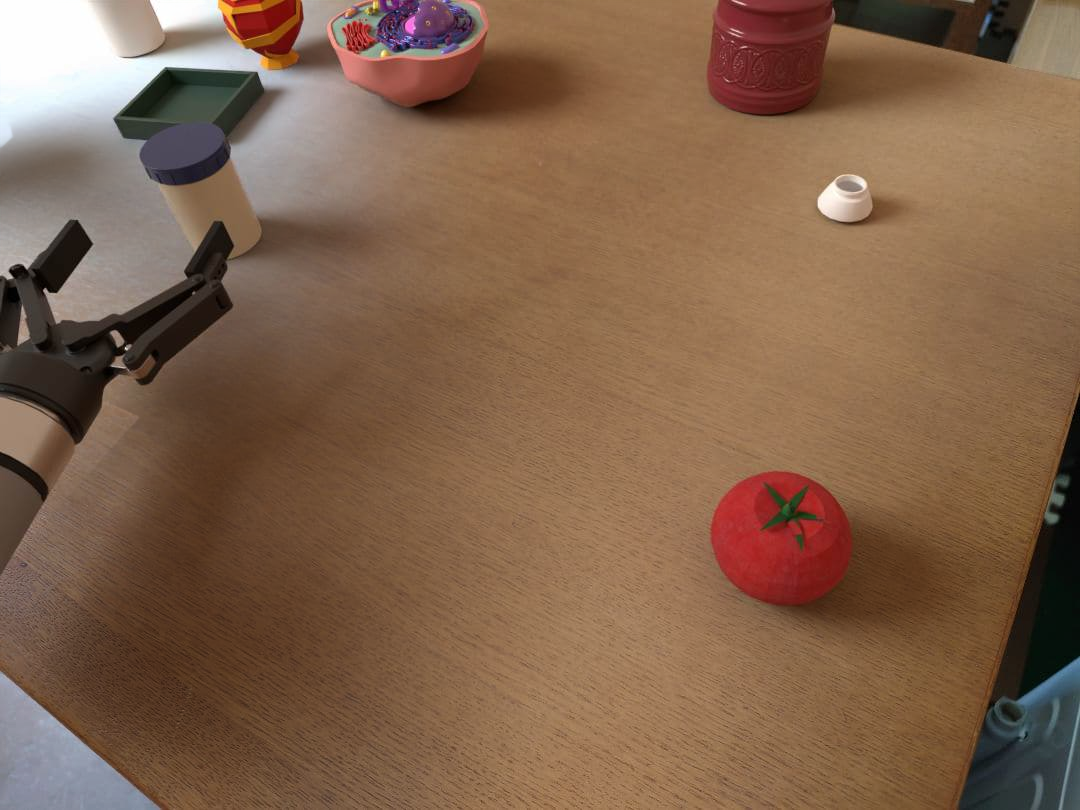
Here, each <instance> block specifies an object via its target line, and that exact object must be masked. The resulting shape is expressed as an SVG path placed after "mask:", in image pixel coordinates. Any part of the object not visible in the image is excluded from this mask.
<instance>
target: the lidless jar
mask: <svg viewBox="0 0 1080 810" xmlns="http://www.w3.org/2000/svg"><path fill="white" fill-rule="evenodd" d="M817 208H818V210H819V211H820V213H821V214H822V215H824V216H825V217H826V218H828V219H831V220H834V221H837V222H844V223H853V222H858V221H862V220H864V219H865V218H867V217H869V216H870V214H871V213H872V212H873V208H874V207H873V200H872V195H871V193H870V189H869V188H868V183H867V181H866V180H865V179H864V178H863V177H862V176H860V175H857V174H850V173H849V174H841V175H839V176H837V177H835V179H834V180H833V181H832V182H831V183H830V184H828V186H827V187H826V188H825V189H824V190H823V191H822V192H821V193H820V195H819V196H818V197H817Z"/></svg>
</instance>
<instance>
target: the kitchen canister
mask: <svg viewBox="0 0 1080 810" xmlns="http://www.w3.org/2000/svg"><path fill="white" fill-rule="evenodd" d="M834 1H835V0H718V2H717V3H716V5H715V6H714V7H713V11H712V20H713V22H712V32H711V33H712V34H711V43H710V53H709V60H708V63H707V67H706V79H707V88H708V91H709V94H710V95H711V96H712V98H713V99H714V100H716V101H717V102H718V103H719V104H721V105H723V106H725V107H726V108H729V109H730V110H734V111H737V112H742V113H747V114H751V115H776V114H783V113H788V112H791V111H795V110H797V109H800V108H802V107H804V106H805V105H807V104H808V103H810V102H811V101H812V100H813V99H814V98H815V96H816V95H817V91H818V89H819V87H820V85H821V83H822V79H823V75H824V71H825V70H824V65H825V64H824V63H825V59H826V54H827V49H828V45H829V41H830V40H829V39H830V35H831V31H832V27H833V25H834V23H835V20H836V12H835V8H834Z"/></svg>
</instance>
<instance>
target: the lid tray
mask: <svg viewBox="0 0 1080 810" xmlns="http://www.w3.org/2000/svg"><path fill="white" fill-rule="evenodd" d="M264 92H265V89H264V86H263V83H262V80H261V78H260V74H259V72H258V71H251V70H234V69H233V70H231V69H213V68H195V67H194V68H193V67H192V68H191V67H174V66H165V67H163V69H162V70H161V71H159V72H158V73H157V74H156V75H155V77H154V78H152V79H151V80H150V82H149V83H147V84H146V85H145V86H144V87H143V88H142V89H141V90H140V91H139V92H138V93H137V94H136V95H135V96H134V97H133V98H131V100H130V101H129V102H128V103H127V104H126V105H125V106H124V107H123V108H122V109H121V110H120V111H119V112H118V113H116V115H115V116H113V117H112V120H113V122H114V124H115V125H116V127H117V130H118V131H119V133H120V134H121V136H122V138H123V139H134V140H135V139H136V140H146V141H148V140H149V139H150V138H151V137H152V136H154V135H156V134H157V133H159V132H161V131H163V130H165V129H167V128H170V127H173V126H176V125H179V124H184V123H190V122H206V123H211V124H214V125H216V126H218V127H219V128H221V130H222V131H223V133H224V135H225V137H226V138H227V136H229V134H230V133H231V132H232V131H233V129H234V128H235V127H236V126H237V125H238V123H240V121H241V120H242V119H243V117H244V116H245V115H246V114H247V113H248V111H249V110H250V109H251V108H252V107H253V106H254V105H255V103H256V102H257V101H258V99H259V98H260V97H261V96H262V95H263V94H264Z"/></svg>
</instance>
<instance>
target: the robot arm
mask: <svg viewBox="0 0 1080 810" xmlns="http://www.w3.org/2000/svg"><path fill="white" fill-rule="evenodd" d="M93 246H94V243H93V241H92V240H91V238H90V237H89V235H88V233H87V232H86V230H85V229H84V227H83V226H82V224H81V222H80V221H79V220H78V219H69V220H68V221H67V222H66V224H64V226H63V227H62V228H61V230H60V231H59V232H58V233H57V235H56V236H55V237H54V239H53V240H51V242H50V244H49V245H48V247H46V248H45V250H43V251H41V252H40V253H39V254H38V255H37V256H36V258H34V260H33V261H32V263H31V264H30V265H29V267H27V268H26V267H25V265H24V264H23V263H16V264H13V265H12V266H10V267H9V268H8V270H7V271H8V273H9V274H10V276H11V277H12V278H7V277H6V276H5V275H0V577H2V574H3V573H4V571H5V570H6V567H7V566H8V564H9V562H10V561H11V559H12V557H13V555H14V554H15V552H16V551H17V549H18V548H19V546H20V543H21V542H22V540H23V539H24V537H25V535H26V533H27V532H28V530H29V529H30V527H31V525H32V523H33V522H34V520H35V518H36V517H37V515H38V512H39V511H40V510H41V508H42V507H43V505H44V503H45V502H46V501H47V498H48V496H49V495H50V493H51V492H52V490H53V489H54V486H55V485H56V483H57V482H58V480H59V479H60V477H61V475H62V473H63V472H64V470H65V469H66V467H67V465H68V464H69V463H70V461H71V459H72V457H73V455H74V454H75V453H76V446H77V445H80V443H82V441H83V439H85V436H86V435H87V433H88V432H89V430H90V428H91V426H92V425H93V423H94V422H95V420H96V418H97V417H98V415H99V413H100V412H101V410H102V406H103V397H104V392H105V388H106V386H107V385H108V384H109V383H110V382H111V381H112V380H114V379H116V378H117V377H118V376H124V377H125V376H126V377H131V378H133V379H134V380H135V382H136V383H137V384H138V385H139V386H147V385H149V384H151V383H152V382H153V381H154V379H155V378H156V377H157V375H158V374H159V372H160V371H161V370H162V368H163V367H164V365H165V364H167V363H168V362H169V361H170V360H172V359H173V358H174V357H175V356H176V355H177V354H178V353H180V352H181V351H182V350H183V349H185V348H186V347H187V346H188V345H190V344H191V343H192V342H193V341H194V340H196V339H197V338H198V337H199V336H200V335H202V334H203V333H204V332H205V331H207V330H208V329H209V328H210V327H212V326H213V325H214V324H215V323H216V322H218V321H219V320H220V319H221V318H222V317H224V316H225V315H227V313H229V312H230V311H231V310H232V309H233V308H234V303H233V301H232V299H231V296H230V295H229V293H228V292H227V290H226V288H225V286H224V284H223V279H224V277H225V276H226V273H227V272H228V270H229V267H228V265H229V264H228V263H227V260H228V259H227V258H228V257H229V255H230V253H231V251H232V250H233V248H234V244H233V242H232V240H231V238H230V236H229V234H228V232H227V229H226V227H225V225H224V223H223V221H214V222H213V224H212V225H211V227H210V229H209V230H208V232H207V234H206V235H205V237H204V239H203V240H202V242H201V244H200V245H199V247H198V249H197V250H196V252H195V253H193V255H192V257H191V259H190V260H189V262H188V263H187V265H186V266H185V269H184V270H183V273H184V275H185V276H186V279H183V280H181V281H180V282H178V283H176V284H175V285H173V286H171V287H169V288H167V289H165V290H164V291H162V292H160V293H158V294H157V295H154V296H152V297H151V298H150V299H148V300H145V301H144V302H142V303H140V304H138V305H137V306H135V307H133V308H131V309H129V310H127V311H126V312H124V313H122V314H119V313H111V314H108V315H107V316H105V317H103V318H101V319H99V320H86V321H75V320H72V319H61V321H60V322H58V323H57V322H56V319H55V316H54V313H53V310H52V308H51V305H50V302H49V299H48V297H47V294H46V292H45V291H44V290H46V291H47V293H48V294H58V293H59V292H60V291H61V289H62V288H63V286H64V285H65V283H66V282H67V281H68V280H69V278H70V277H71V275H72V274H73V273H74V271H75V270H76V268H77V267H78V266H79V264H80V263H81V262H82V261H83V259H84V258H85V256H86V255H87V254H88V252H89V251H90V249H92V247H93ZM22 309H23V310H24V311H23V312H24V314H25V318H24V321H25V325H26V327H27V330H28V333H29V334H28V337H29V338H28V339H26V340H24V341H23V342H21V343H20V344H19V343H18V342H19V333H20V326H21V318H22ZM113 331H117V333H118V335H119V336H120V337H121V339H122V341H123V344H121V345H119V346H118V345H117V342H116V341H117V340H116V339H115V338H114V336H113V335H112V334H111V333H112V332H113Z"/></svg>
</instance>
